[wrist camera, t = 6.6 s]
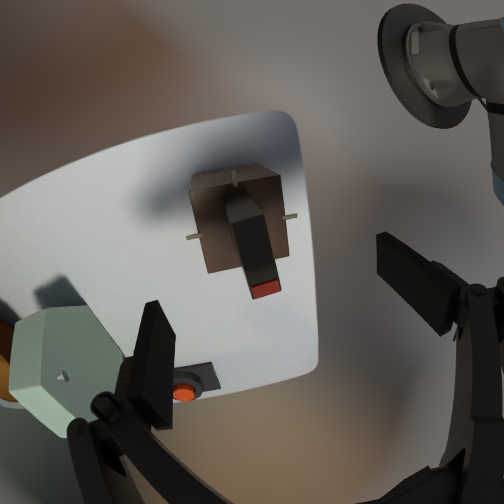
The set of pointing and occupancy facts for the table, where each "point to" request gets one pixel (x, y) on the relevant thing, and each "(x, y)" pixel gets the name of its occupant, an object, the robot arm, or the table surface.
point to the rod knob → (252, 244)
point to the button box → (197, 378)
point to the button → (183, 392)
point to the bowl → (5, 360)
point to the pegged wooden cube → (215, 219)
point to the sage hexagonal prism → (62, 364)
